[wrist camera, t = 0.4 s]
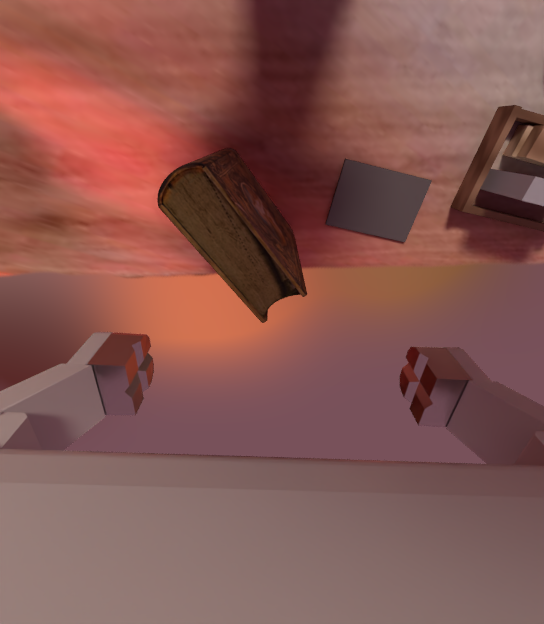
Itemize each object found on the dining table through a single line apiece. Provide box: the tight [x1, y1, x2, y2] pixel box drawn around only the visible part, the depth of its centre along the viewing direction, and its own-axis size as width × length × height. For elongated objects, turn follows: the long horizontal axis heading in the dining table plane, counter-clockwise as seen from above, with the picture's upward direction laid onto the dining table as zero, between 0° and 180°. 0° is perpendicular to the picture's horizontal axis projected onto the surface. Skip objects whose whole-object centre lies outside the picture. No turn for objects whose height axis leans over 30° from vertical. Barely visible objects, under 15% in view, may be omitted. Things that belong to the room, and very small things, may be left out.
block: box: [480, 169, 544, 206], centre depth 46 cm, size 3×12×10 cm, turn 77°
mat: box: [326, 159, 431, 242], centre depth 51 cm, size 10×14×1 cm
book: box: [158, 148, 307, 323], centre depth 40 cm, size 16×6×25 cm, turn 37°
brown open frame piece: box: [451, 105, 544, 231], centre depth 48 cm, size 14×18×4 cm
